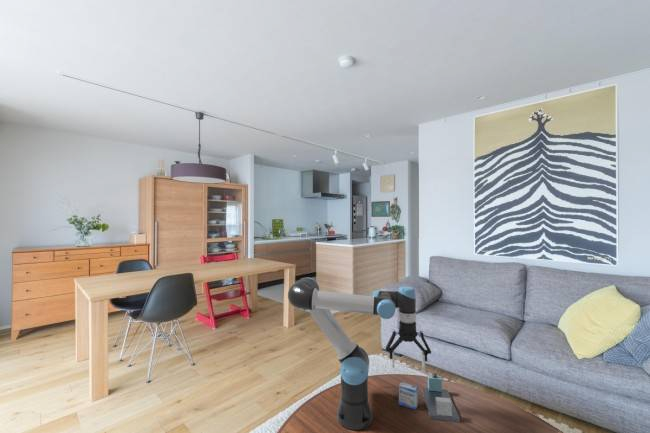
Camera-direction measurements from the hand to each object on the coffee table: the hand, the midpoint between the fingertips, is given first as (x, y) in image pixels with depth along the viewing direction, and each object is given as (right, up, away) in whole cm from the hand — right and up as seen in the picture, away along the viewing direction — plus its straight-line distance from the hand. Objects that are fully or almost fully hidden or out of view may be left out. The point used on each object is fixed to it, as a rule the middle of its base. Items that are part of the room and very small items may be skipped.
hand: (408, 367), depth 134 cm
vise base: (+14, -17, -1) cm, 22 cm away
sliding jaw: (+16, -16, +9) cm, 24 cm away
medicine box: (0, -18, 0) cm, 18 cm away
